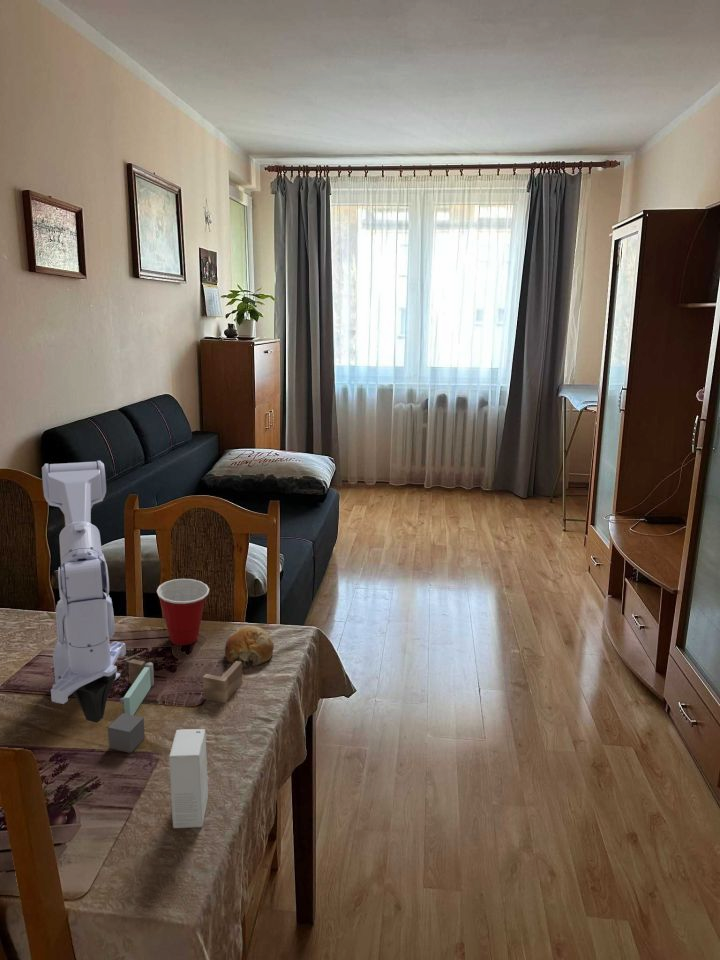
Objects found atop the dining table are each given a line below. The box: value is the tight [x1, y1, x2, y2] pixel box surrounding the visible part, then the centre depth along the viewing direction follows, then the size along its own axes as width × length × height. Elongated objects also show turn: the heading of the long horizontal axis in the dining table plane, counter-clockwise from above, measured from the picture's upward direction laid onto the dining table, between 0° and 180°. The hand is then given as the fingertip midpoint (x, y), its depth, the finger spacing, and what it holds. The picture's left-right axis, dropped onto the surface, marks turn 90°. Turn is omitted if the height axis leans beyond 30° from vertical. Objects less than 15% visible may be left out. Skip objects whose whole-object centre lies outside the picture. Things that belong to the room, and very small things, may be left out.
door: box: [119, 661, 155, 716], centre depth 122 cm, size 12×2×4 cm, turn 177°
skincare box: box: [168, 728, 209, 829], centre depth 95 cm, size 6×4×12 cm
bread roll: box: [224, 624, 275, 668], centre depth 139 cm, size 10×10×8 cm
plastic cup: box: [156, 578, 210, 646], centre depth 144 cm, size 11×11×12 cm
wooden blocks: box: [128, 658, 243, 704], centre depth 128 cm, size 20×7×4 cm, turn 74°
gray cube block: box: [107, 712, 146, 754], centre depth 111 cm, size 4×4×4 cm
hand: (94, 718), depth 102 cm, fingers closed
